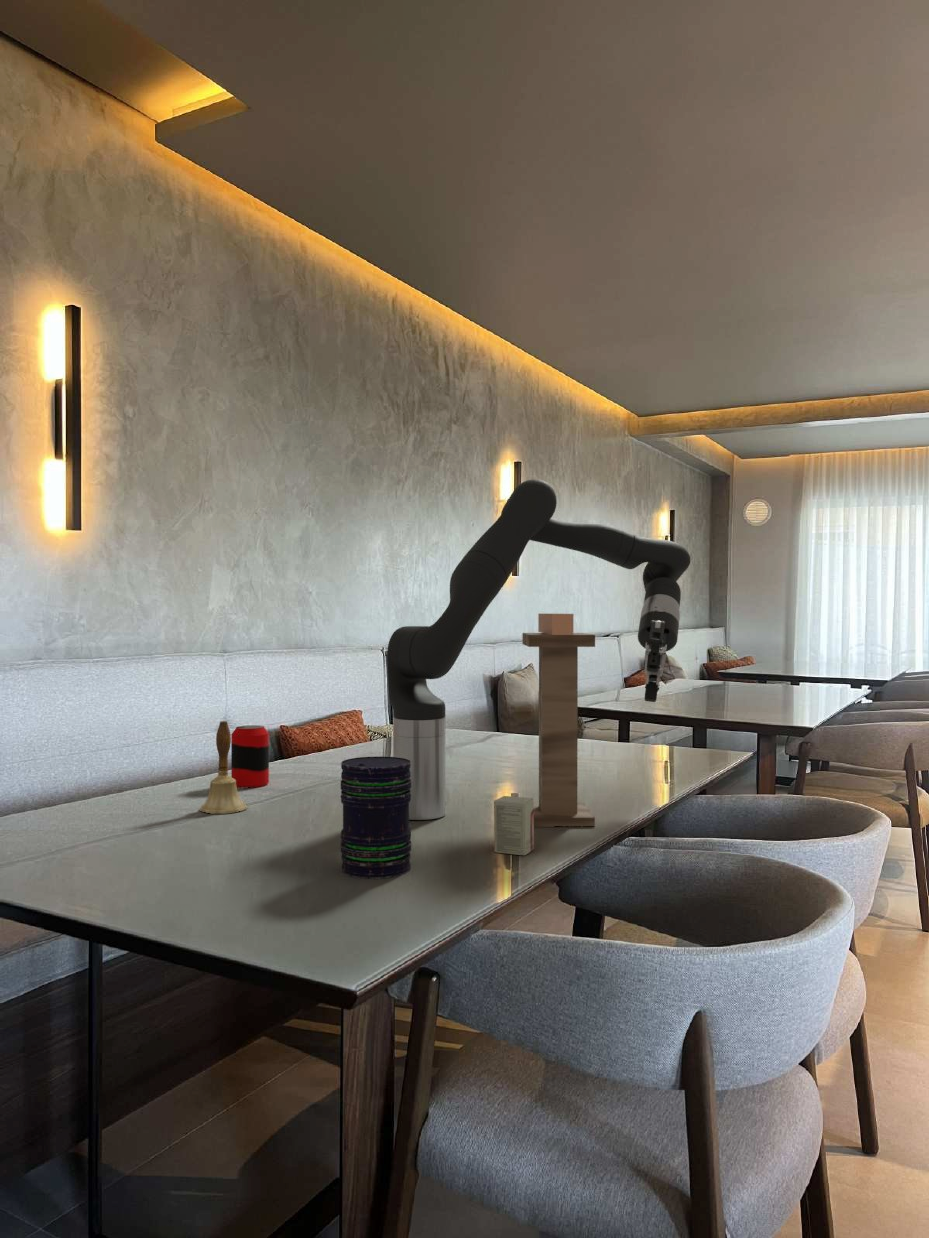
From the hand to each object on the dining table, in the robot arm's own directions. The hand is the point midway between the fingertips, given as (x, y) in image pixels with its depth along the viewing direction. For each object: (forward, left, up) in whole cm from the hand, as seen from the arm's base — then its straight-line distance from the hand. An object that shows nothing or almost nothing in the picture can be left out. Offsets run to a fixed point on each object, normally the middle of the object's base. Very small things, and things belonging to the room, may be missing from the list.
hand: (651, 685), depth 172 cm
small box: (-38, -17, -22) cm, 48 cm away
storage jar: (-60, -17, -22) cm, 67 cm away
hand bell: (-71, +32, -23) cm, 81 cm away
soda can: (-61, +54, -22) cm, 85 cm away
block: (-19, +3, +10) cm, 21 cm away
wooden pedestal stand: (-20, 0, -22) cm, 30 cm away
